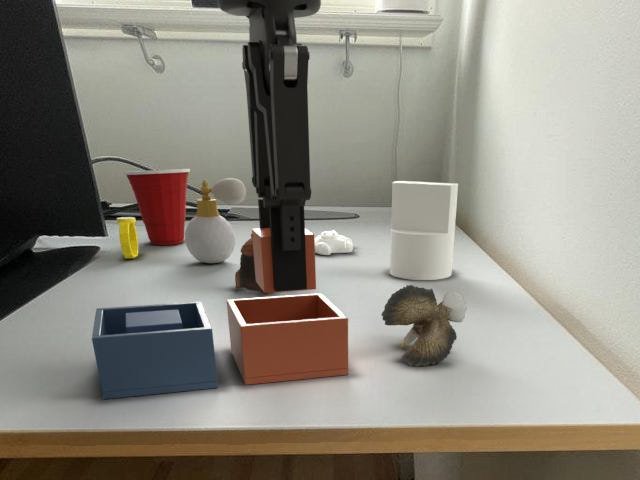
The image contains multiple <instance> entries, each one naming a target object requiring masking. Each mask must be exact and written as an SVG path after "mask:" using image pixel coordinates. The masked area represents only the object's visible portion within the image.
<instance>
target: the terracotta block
mask: <svg viewBox="0 0 640 480" xmlns="http://www.w3.org/2000/svg"><path fill="white" fill-rule="evenodd" d="M251 234H252V238H253V251H254V264H255V277H256V282H257V283H258V285H259V286H260V287H261V289H262V290H263V291H264V293H263V294H265V293H267V294H271V293H284V292H286V291H275V290H274V282H273V266H272V249H271V234H270V228H260V227H259V228H252V229H251ZM314 238H315V233H313V232H311V231H310V230H308V229H307V228H305V246H306V273H307V289H303V290H302V291H311V290H312V291H313V290H317V275H316V274H317V273H316V253H315V239H316V238H315V239H314ZM297 291H300V290H288V291H287V292H297Z"/></svg>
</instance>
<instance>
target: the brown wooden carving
mask: <svg viewBox="0 0 640 480" xmlns="http://www.w3.org/2000/svg"><path fill="white" fill-rule="evenodd" d="M240 253H241V254H240V258H239V260H240V261H239V265H240V266H239V269H238V270H236V272H235V274H234V282H235V283H234V285H235V286H234V289H237V290H238V289H247V290H248V291H254V292H258V293H263V294H266V295H267V294H268V293H264V291H263V290H262V289H261V287H260V286H259V285H258V283H257V282H256V277H255V264H254V251H253V238H252V233H251V234H250V238H249V239H248V240H246V241H245V242H244V244H242V246H241V248H240Z"/></svg>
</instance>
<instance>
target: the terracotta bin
mask: <svg viewBox="0 0 640 480" xmlns="http://www.w3.org/2000/svg"><path fill="white" fill-rule="evenodd" d="M226 308H227V309H226V310H227V320H228V330H229V331H228V332H229V338H230V339H229V342H230V353H231V355H232V357H233V360H234V362H235V365H236V366H237V369H238V371H239V373H240V375H241V378H242V380H243V382H244V385H245V386H247V385H248V386H249V385H250V386H251V385H260V384H267V383H277V382H279V383H280V382H288V381H297V380H309V379H317V378H328V377H337V376H347V375H349V318H348V317H347V316H346V314H344V313H343V312H342V311H341V310H340V309H339V307H337V306H336V305H335V304H334V303H333V302H332V301H331V300H330V299H329V298H328V297H326V295H324V294H323V293H322V292H320V293H306V294H290V295H289V294H288V295H275V296H263V297H262V296H261V297H247V298H246V297H245V298H231V299H226Z"/></svg>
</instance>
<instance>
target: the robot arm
mask: <svg viewBox="0 0 640 480" xmlns="http://www.w3.org/2000/svg"><path fill="white" fill-rule="evenodd" d="M216 2H217V5H218V7H219V10H221V12H223V13H225V14H227V15H231V16H236V17H245V18H247V19H248V22H249V23H248V24H249V27H248V29H249V30H248V33H249V34H248V37H249V38H248V39H249V41H248V42H247V44H243V45H242V63H241V66H242V70H243V73H244V83H245V90H246V91H245V93H246V102H247V104H246V105H247V118H248V132H249V143H250V144H249V146H250V158H251V159H250V160H251V171H252V172H251V173H252V177H251V183H252V186H253V188H255V193H256V194H257V198H258V199H257V205H258V206H257V207H258V218H259V229H260V228H270V234H271V249H272V266H273V282H274V290H275V291H285V292H289V291H288V290H299V291H304V290H303V289H307V273H306V246H305V229H306V219H305V206H306V202H307V201H310V199H311V197H312V187H311V163H310V160H311V159H310V130H309V129H310V126H309V125H310V124H309V96H308V95H309V93H308V91H309V90H308V81H309V61H310V57H311V55H310V51H309V48H308V45H306V44H304V45H303V44H302V43H298V37H297V29H296V22H295V21H296V20H295V19H298V18H305V17H310V16H311V17H312V16H314V15H316V14H317V13H318V12H319V11H320V9H321V7H322V0H216Z"/></svg>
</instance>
